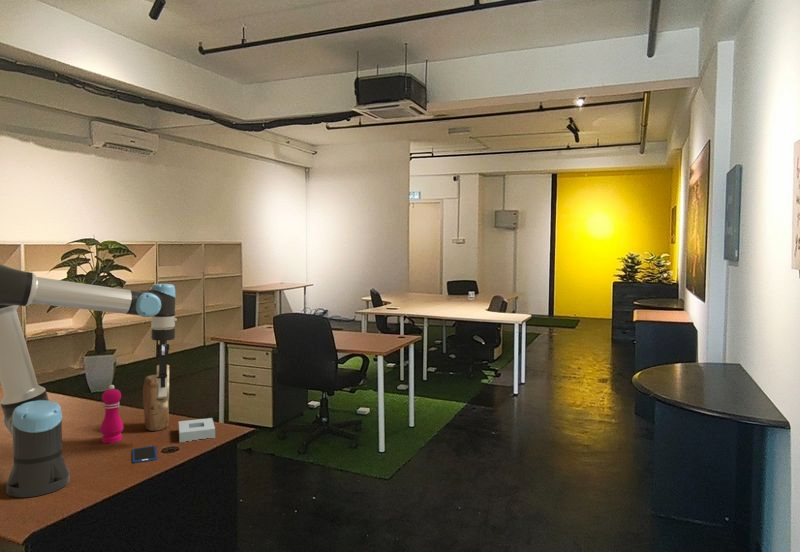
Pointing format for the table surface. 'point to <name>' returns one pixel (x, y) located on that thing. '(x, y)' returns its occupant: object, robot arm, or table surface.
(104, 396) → the pepper mill
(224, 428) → the table surface
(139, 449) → the cell phone
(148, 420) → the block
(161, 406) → the peg
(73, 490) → the table surface
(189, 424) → the board
